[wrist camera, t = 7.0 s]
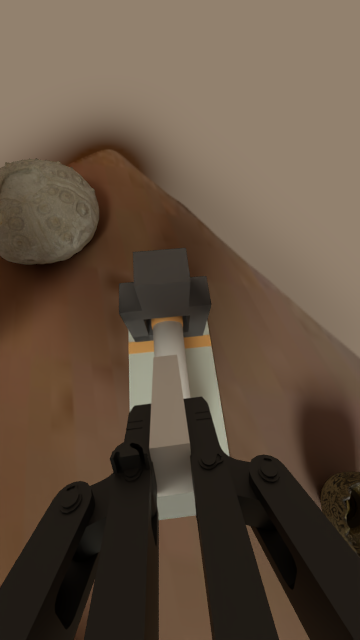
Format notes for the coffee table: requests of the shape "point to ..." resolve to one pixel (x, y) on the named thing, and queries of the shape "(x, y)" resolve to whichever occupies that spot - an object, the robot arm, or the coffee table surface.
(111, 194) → the coffee table surface
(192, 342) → the pipe stand
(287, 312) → the coffee table surface
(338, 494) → the cup
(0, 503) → the coffee table surface
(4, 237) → the grey stone
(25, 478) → the coffee table surface
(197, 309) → the collar
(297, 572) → the robot arm
